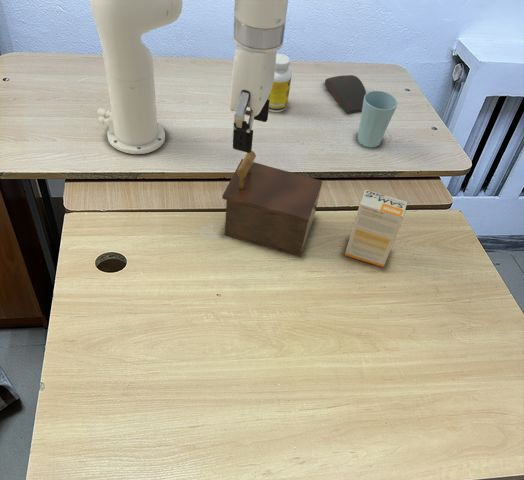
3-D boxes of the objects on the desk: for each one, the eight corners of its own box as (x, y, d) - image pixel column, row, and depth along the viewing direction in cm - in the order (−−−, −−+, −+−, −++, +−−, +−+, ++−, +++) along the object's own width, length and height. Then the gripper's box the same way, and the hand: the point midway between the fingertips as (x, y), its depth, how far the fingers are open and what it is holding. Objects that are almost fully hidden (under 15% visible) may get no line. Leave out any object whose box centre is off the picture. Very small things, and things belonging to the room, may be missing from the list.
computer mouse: (346, 81, 143) (350, 66, 140) (371, 110, 136) (375, 95, 133) (320, 85, 140) (323, 70, 137) (344, 114, 134) (347, 99, 130)
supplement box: (387, 252, 108) (409, 201, 97) (383, 268, 105) (404, 217, 94) (348, 239, 108) (365, 187, 98) (343, 255, 106) (359, 203, 95)
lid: (222, 198, 98) (223, 175, 94) (241, 162, 105) (243, 138, 101) (307, 222, 97) (313, 200, 93) (321, 184, 104) (327, 161, 99)
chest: (224, 235, 106) (226, 199, 98) (242, 198, 112) (245, 163, 105) (300, 256, 104) (307, 222, 97) (313, 219, 111) (321, 184, 104)
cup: (369, 127, 132) (381, 87, 123) (390, 144, 129) (404, 104, 120) (346, 136, 129) (357, 95, 120) (368, 154, 126) (380, 113, 117)
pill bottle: (284, 115, 131) (291, 68, 121) (258, 110, 131) (263, 62, 121) (289, 101, 135) (296, 54, 125) (264, 96, 135) (269, 49, 125)
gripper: (251, 1, 84) (244, 104, 98) (215, 51, 74) (213, 157, 88) (297, 12, 83) (283, 113, 97) (267, 63, 74) (256, 168, 88)
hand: (250, 134), depth 93 cm, fingers open, 9 cm apart
